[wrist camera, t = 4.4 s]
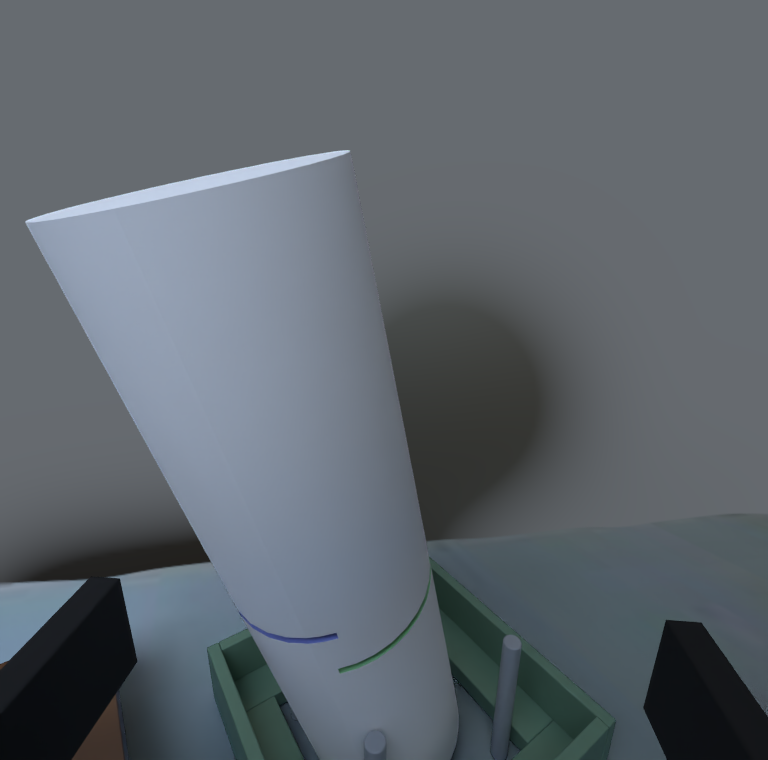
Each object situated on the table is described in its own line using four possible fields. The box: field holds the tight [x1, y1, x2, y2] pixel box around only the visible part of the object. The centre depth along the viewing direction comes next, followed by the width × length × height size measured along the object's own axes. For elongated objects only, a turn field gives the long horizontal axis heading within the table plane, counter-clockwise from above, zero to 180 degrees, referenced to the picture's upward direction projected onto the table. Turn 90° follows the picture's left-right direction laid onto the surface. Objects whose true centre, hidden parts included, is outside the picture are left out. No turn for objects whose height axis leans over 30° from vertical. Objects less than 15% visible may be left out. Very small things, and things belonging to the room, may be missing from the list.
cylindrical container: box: [25, 150, 459, 760], centre depth 17 cm, size 7×7×25 cm
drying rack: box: [207, 557, 616, 760], centre depth 22 cm, size 14×14×7 cm
